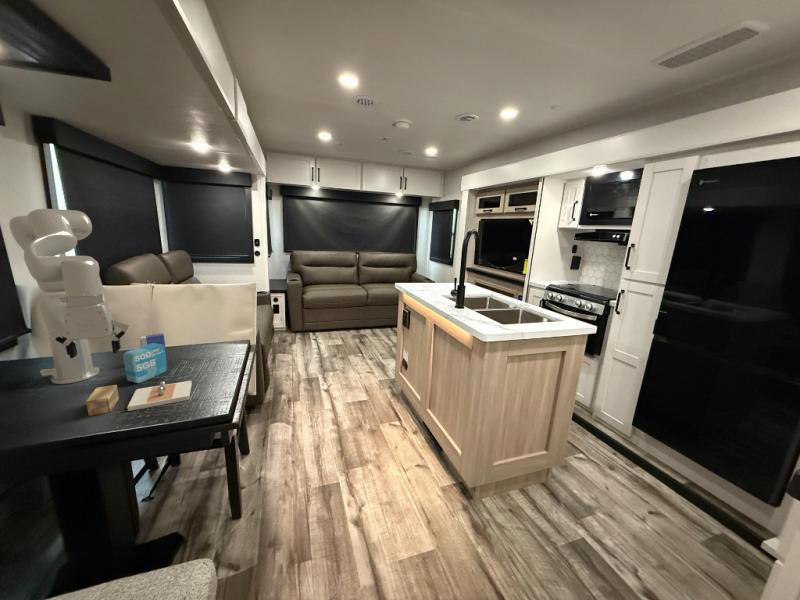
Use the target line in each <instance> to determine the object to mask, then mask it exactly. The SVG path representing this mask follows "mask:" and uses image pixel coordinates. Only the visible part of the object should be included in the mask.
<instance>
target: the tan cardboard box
mask: <svg viewBox="0 0 800 600" xmlns="http://www.w3.org/2000/svg"><path fill="white" fill-rule="evenodd" d="M118 390H119V389H118V385H117V384H113V385H106V386H99V387H96V388H95V389H94V390H93V392H92V393H91V394H90V396H89V397H88V398H87V400H86V401H85V403H86V408H87V412H88V413H87V414H88V417H91V416H95V415H96V416H97V415H102V414H108V413H111V412H112V411H113V409H114V407H115V406H116V404H117V402H118V400H119V399H120V397H119V391H118Z"/></svg>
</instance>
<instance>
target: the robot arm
mask: <svg viewBox="0 0 800 600" xmlns="http://www.w3.org/2000/svg"><path fill="white" fill-rule="evenodd" d="M8 225H9V226H8V227H9V229H10V233H11V235H12V237H13V239H14V240H15V242H16V244H18V246H20V248H21V250H22V251H23V261H24V262H25V265H26V268H27V270H28V271H29V274H30V276H31V277H32V278H33V279H34V280H35V281H36V283H37V286H38V288H39V289H40V291H42V292H45V293H53V294H55V293H57V294H55V295H50V296H47V297H44V298H42V299H41V300H39V302H38V305H37V307H38V312H39V313H40V316H41V318H42V320H43V323H44V325H45V326H44V327H45V328H46V332H47V336H48V340H49V344H50V349H51V354H52V358H53V364H54V367H53V368H44V369H40V371H39V374H40V375H41V377H48V376H51V378H50V381H51V383H52V384H55V385H56V384H57V385H67V384H74V383H78V382H81V381H86V380H88V379H91V378H93V377H95V376H97V375H98V374H100V367H97V366H94V365H93V359H92V354H91V349H90V343H89V340H90V339H100V338H101V339H102V338H109V339H111V340H112V341H111V349H112V353H113V354H117V353H118V352H119V350H121V348H122V347H121V346H122V345H121V342H120V339H121V338H122V337H123V336H124V335H125V334H126V332H127V330H128V329H129V327H130V326H129V325H128V324H127V323H123V322H119V321H114V319H113V315H112V313H111V310H110V307H109V302H108V298H107V295H106V292H105V289H104V286H103V282H102V279H101V277H100V266H99V262H98V261H97V260H96V259H94V257H92V256H88V255H65V253H66V254H67V252H70V251H72V250H73V249H75V248H76V246H77V245H78V241H81V240H84V239H86V238H87V237H89V235H90V234H91V233H92V231H93V225H92V221H91V219H90V217H89V216H88V215H87V214H86V213H84V212H83V211H80V210H75V209H74V210H73V209H59V208H58V209H57V208H56V209H55V208H37V209H33V210H32V211H30V212H29V213H28V214H27V215H18V216H14V217H12V218H11V219H10V220H9V224H8ZM64 292H65V293H64ZM58 293H64V294H58ZM115 327H116V328H119V329H120V331H119V333H117V332H116V331H115Z"/></svg>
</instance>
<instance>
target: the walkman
mask: <svg viewBox="0 0 800 600" xmlns="http://www.w3.org/2000/svg"><path fill="white" fill-rule="evenodd" d="M139 343H140V347H142V346H145V345H148V344H151V343H156V344H162V345H164V347H165V355H166V361H168V358H167V350H166V342H165V335H164V333H161V332H160V333H159V332H158V333H156V334H150V335H144V336H143V335H142V336H140V338H139Z"/></svg>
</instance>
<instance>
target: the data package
mask: <svg viewBox="0 0 800 600" xmlns="http://www.w3.org/2000/svg"><path fill="white" fill-rule="evenodd" d="M165 349H166V346H165V347H164V345H162V344H156V343H151V344H148V345H145V346H142V347H141V346H139V347H136V348H133V349H130V350H128V351H126V352H124V353H123V355H122V358H123V362H124V363H123V364H124V370H125V376H126V380H127V381H128V382H131V383H137V384H141V383H144V382H145V381H148V380H150V379H153V378H155V377H157V376H159V375H161V374H162V375H163V374H164V373H165V372H167V369H168V364H167V363H168V362H167V360H166V357H167V354H166V355H165Z"/></svg>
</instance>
